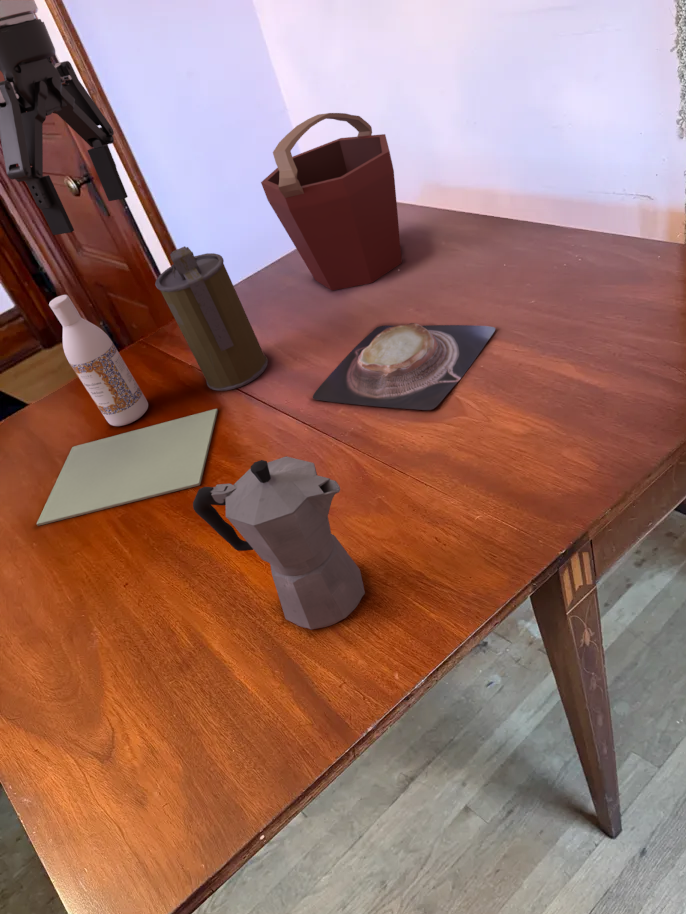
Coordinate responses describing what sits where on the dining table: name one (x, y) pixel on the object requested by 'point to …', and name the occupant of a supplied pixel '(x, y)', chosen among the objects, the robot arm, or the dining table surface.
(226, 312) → the canister
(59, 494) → the mat
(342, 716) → the dining table surface
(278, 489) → the coffeepot
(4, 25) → the robot arm
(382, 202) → the bucket
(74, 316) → the bath foam
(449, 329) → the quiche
